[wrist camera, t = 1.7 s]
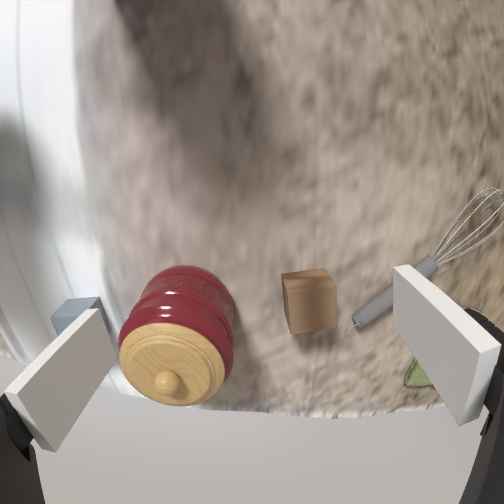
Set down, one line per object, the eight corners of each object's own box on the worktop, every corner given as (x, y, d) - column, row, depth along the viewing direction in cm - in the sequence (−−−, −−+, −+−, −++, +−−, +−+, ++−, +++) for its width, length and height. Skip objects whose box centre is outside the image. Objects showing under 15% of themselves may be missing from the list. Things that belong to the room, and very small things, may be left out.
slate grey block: (80, 331, 45) (65, 352, 40) (68, 299, 43) (50, 317, 38) (110, 330, 45) (97, 352, 40) (99, 296, 43) (83, 315, 38)
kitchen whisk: (331, 314, 46) (344, 337, 40) (484, 176, 40) (509, 182, 34) (352, 337, 47) (365, 361, 41) (496, 205, 42) (520, 214, 36)
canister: (249, 325, 46) (255, 415, 29) (172, 354, 47) (149, 441, 30) (208, 247, 42) (189, 315, 25) (127, 284, 43) (76, 358, 26)
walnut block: (284, 312, 45) (290, 335, 39) (281, 273, 43) (287, 293, 38) (325, 306, 45) (336, 327, 39) (324, 267, 43) (336, 286, 38)
